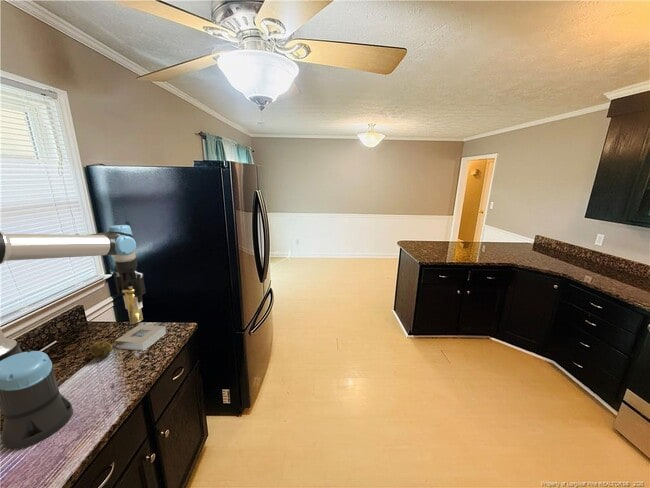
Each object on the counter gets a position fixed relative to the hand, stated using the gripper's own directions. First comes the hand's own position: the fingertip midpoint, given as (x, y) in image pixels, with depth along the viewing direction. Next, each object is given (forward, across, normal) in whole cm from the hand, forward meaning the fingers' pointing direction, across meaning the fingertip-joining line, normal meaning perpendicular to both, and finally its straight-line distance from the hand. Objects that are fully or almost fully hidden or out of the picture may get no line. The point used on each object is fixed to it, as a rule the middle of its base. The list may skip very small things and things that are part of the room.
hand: (134, 308), depth 122 cm
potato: (+18, +8, +11) cm, 23 cm away
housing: (+17, 0, -1) cm, 17 cm away
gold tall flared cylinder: (+6, 0, 0) cm, 6 cm away
